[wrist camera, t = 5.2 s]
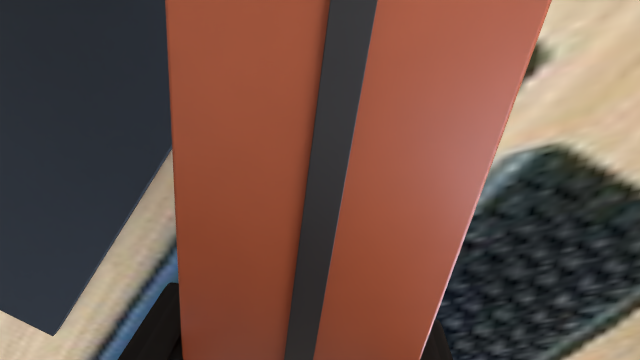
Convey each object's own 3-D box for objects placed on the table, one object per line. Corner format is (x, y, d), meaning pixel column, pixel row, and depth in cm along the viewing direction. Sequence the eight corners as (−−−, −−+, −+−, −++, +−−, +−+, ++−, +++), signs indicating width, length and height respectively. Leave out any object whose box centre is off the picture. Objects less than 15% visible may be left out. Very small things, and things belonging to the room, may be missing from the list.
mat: (29, -164, 14) (17, -171, 14) (253, 18, 17) (251, 17, 16) (-101, 250, 23) (-111, 255, 22) (58, 330, 25) (52, 336, 25)
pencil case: (253, -121, 7) (141, -307, 3) (473, -88, 7) (644, -229, 3) (230, 454, 14) (191, 604, 11) (329, 468, 15) (326, 622, 11)
